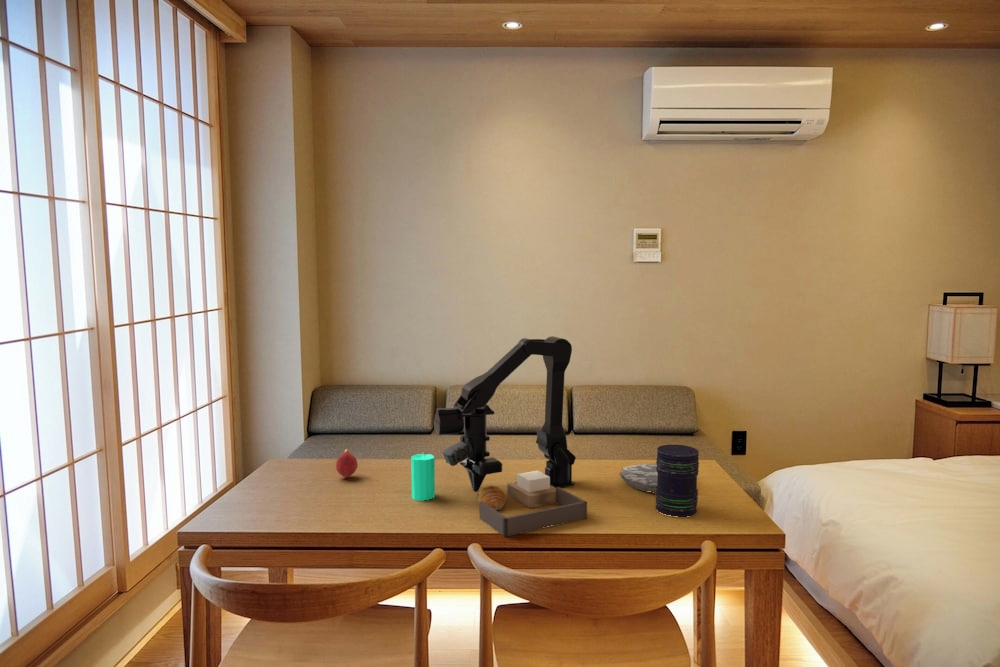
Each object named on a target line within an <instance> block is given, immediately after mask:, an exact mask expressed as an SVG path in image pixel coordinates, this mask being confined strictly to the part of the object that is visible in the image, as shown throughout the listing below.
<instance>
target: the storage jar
mask: <svg viewBox="0 0 1000 667" xmlns="http://www.w3.org/2000/svg"><path fill="white" fill-rule="evenodd" d="M656 451H657V452H656V453H657V455H656V460H655V461H656V463H655V464H657V467H656V469H657V470H656V471H657V473H658V476H657V486H656V494H655V504H656V505H655V510H656V509H657V510H658V511H659V512H661V513H663V514H666V515H671V516H678V517H687V516H692V515H695V514H696V513H698V510H697V508H698V501H699V499H698V498H699V497H698V495H699V490H698V489H697V483H698V475H699V472H700V471H699V467H700V466H699V465H700V461H699V454H700V453H699V452H700V451H699V449H697V448H696V447H693V446H690V445H689V446H688V445H683V444H664V445H660V446H658V447H657V448H656ZM696 515H697V514H696ZM696 515H695V516H696ZM692 517H693V516H692Z"/></svg>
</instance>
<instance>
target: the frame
mask: <svg viewBox="0 0 1000 667" xmlns="http://www.w3.org/2000/svg"><path fill="white" fill-rule="evenodd" d="M555 504H556V505H558V506H554V507H550V508H545V509H544V508H543V509H541V510H536V511H535V510H534V511H530V512H526V513H521V514H516V515H511V516H510V515H509V516H507V517H506V516H505V515H503V514H502V513H501V512H499V511H498V510H494V509H493V508H492V507H490V506H489V505H487V504H486V503H484V502H480V504H479V520H481V519H482V520H483V521H482V520H481V521H482V522H484V521H485V522H486V523H487V524H486V523H485V522H484V523H485V524H486V525H488V524H489V525H490V526H492V527H493V528H494V529H495V530H494V529H493V528H492V527H491V528H492V529H493V530H494V531H496V530H497V531H498V532H497V531H496V532H497V533H499V534H500V535H501V536H503V537H504V538H506V537H509V536H511V537H512V536H515V535H519V533H520V534H522V533H521V532H525V533H527V532H526V531H529V532H531V531H530V530H534V531H536V530H535V529H538V530H540V529H539V528H542V529H544V528H543V527H547V526H551V525H556V526H558V525H557V524H560V525H563V524H562V523H565V524H568V523H567V522H569V523H573V522H572V521H574V522H578V521H581V520H582V519H583V520H588V501H586V500H584V499H582V498H581V497H578V496H577V495H575V494H573V493H571V492H569V491H567V490H565V489H563V487H556V503H555ZM489 525H488V526H489ZM490 526H489V527H490ZM551 527H552V526H551ZM547 528H548V527H547Z"/></svg>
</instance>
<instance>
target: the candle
mask: <svg viewBox="0 0 1000 667" xmlns="http://www.w3.org/2000/svg"><path fill="white" fill-rule="evenodd" d="M435 462H436V460H435V456H434V455H433V454H427V453H426V454H425V453H417V454H414V455H412V456H411V457H410V465H411V499H413V500H414V501H418V500H419V501H418V502H421V501H422V502H424V500H427V501H430V500H429V499H432V498H433V499H435V498H436V480H435V479H436V478H435V477H436V471H435V470H436V468H435V467H436V463H435ZM434 497H435V498H434ZM433 499H432V500H433Z"/></svg>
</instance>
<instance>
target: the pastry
mask: <svg viewBox="0 0 1000 667" xmlns="http://www.w3.org/2000/svg"><path fill="white" fill-rule="evenodd" d="M506 500H507V498H506V496H505V492H504V491H503V490H502V489H500V488H499V487H498V486H495V485H489V486H486V487H482V489H481V490H479V493H478V496H477V501H478V504H479V505H480V502H484V503H486V504H487V505H489V506H490V507H492V508H493V509H494V510H496V511H498V510H499V511H500V510H502V509H503V508H504V507H505V504H506Z"/></svg>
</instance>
